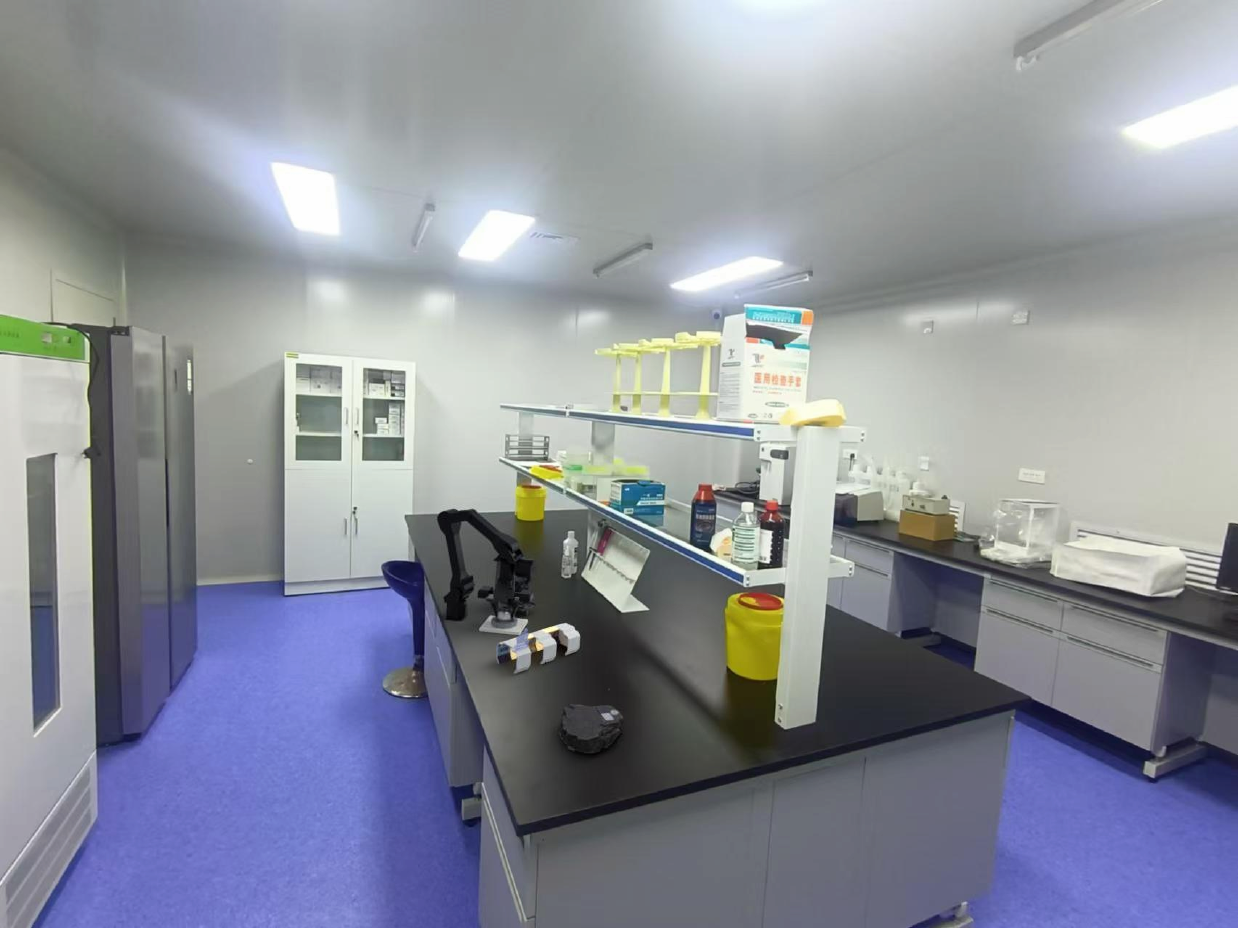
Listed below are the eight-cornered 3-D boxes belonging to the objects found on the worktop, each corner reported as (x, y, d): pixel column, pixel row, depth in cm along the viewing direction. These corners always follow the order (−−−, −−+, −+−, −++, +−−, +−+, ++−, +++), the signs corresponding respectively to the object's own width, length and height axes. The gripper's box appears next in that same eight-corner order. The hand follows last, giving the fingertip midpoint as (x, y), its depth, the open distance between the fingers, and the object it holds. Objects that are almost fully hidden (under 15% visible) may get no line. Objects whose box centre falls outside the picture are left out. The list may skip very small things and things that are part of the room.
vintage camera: (519, 620, 204) (524, 568, 202) (491, 608, 213) (496, 557, 211) (538, 614, 212) (543, 564, 210) (511, 602, 221) (515, 554, 219)
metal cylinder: (495, 624, 194) (496, 610, 194) (499, 618, 199) (500, 605, 199) (509, 625, 194) (510, 611, 193) (513, 620, 199) (513, 607, 198)
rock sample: (602, 764, 124) (604, 744, 124) (542, 744, 130) (543, 724, 130) (631, 726, 140) (633, 707, 140) (576, 709, 146) (577, 691, 146)
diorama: (516, 676, 162) (518, 633, 161) (495, 663, 169) (497, 621, 168) (578, 653, 180) (581, 614, 179) (558, 642, 187) (560, 604, 186)
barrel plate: (479, 631, 191) (479, 624, 191) (489, 618, 203) (490, 611, 203) (519, 635, 190) (519, 628, 190) (527, 622, 202) (528, 615, 202)
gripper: (473, 578, 188) (470, 623, 189) (527, 584, 186) (524, 629, 188) (483, 569, 199) (481, 612, 200) (535, 574, 197) (532, 617, 199)
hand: (504, 617), depth 196 cm, fingers open, 5 cm apart
